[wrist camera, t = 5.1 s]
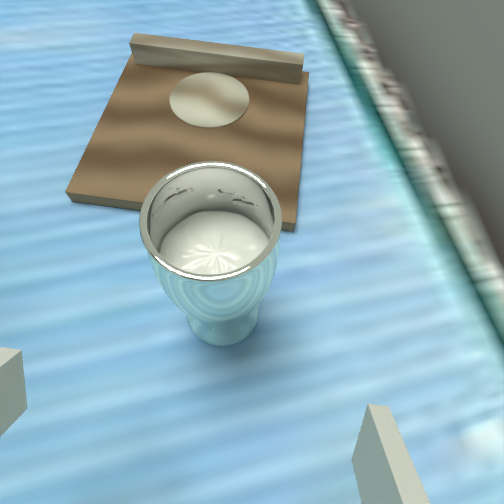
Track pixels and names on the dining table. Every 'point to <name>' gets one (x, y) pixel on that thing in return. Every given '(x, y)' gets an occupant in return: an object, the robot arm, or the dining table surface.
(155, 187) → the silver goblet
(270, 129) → the walnut board
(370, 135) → the dining table surface
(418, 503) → the robot arm
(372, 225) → the dining table surface
